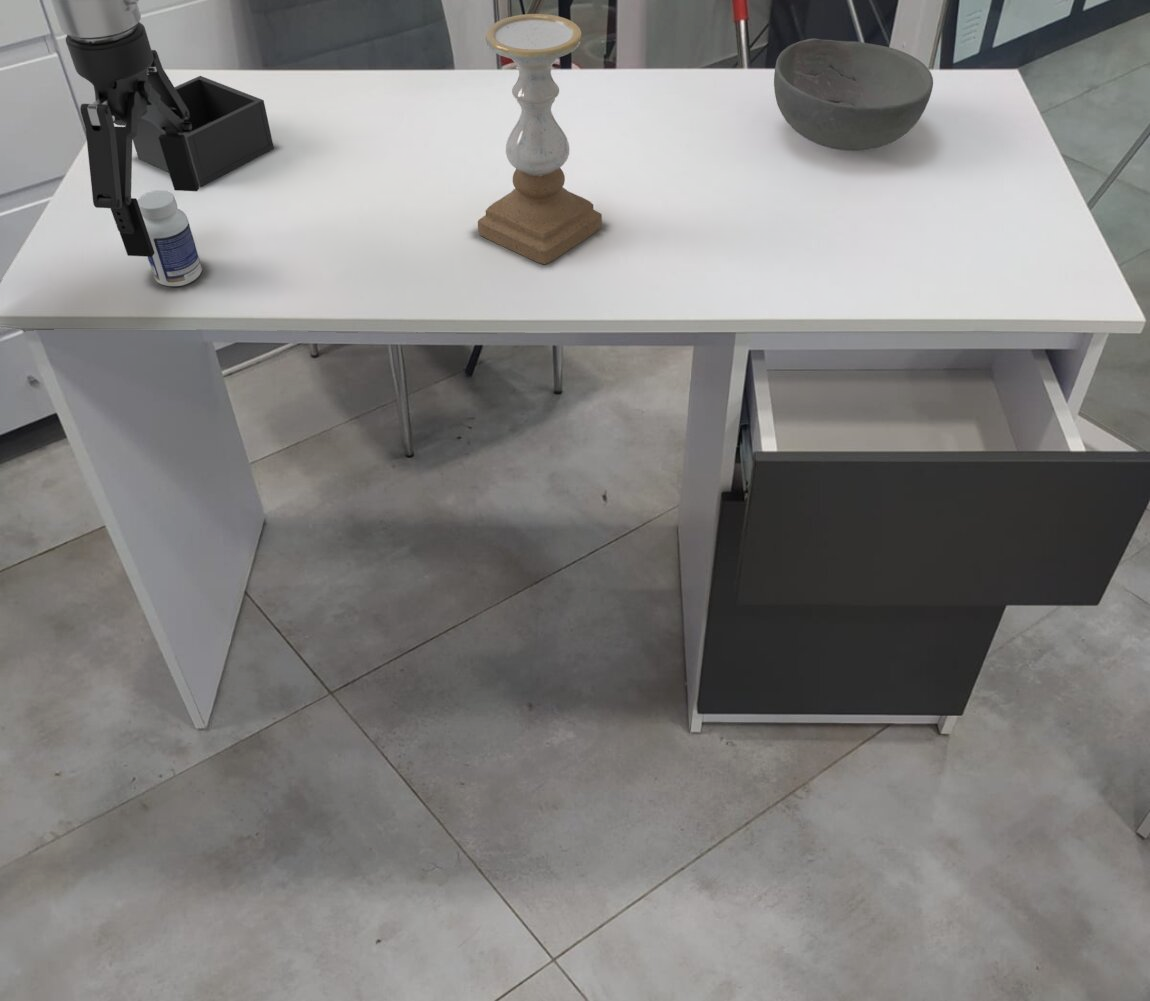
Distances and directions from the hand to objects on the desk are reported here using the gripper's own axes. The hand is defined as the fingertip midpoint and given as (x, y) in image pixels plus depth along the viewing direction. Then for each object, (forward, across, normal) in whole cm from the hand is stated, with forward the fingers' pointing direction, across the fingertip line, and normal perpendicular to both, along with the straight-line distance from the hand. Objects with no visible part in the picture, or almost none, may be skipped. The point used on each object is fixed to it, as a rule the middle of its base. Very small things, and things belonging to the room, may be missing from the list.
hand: (165, 220), depth 123 cm
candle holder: (+8, +14, -40) cm, 43 cm away
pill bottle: (+7, 0, 0) cm, 7 cm away
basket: (+7, +28, +7) cm, 30 cm away
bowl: (+8, +40, -77) cm, 88 cm away
